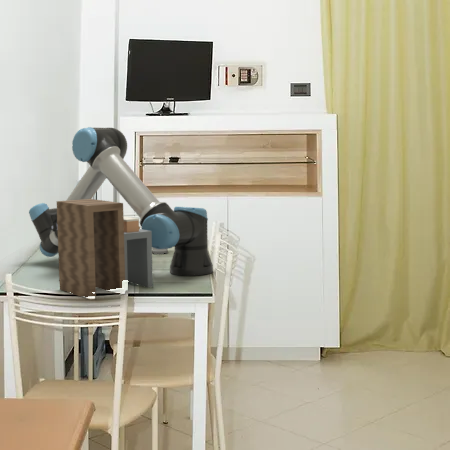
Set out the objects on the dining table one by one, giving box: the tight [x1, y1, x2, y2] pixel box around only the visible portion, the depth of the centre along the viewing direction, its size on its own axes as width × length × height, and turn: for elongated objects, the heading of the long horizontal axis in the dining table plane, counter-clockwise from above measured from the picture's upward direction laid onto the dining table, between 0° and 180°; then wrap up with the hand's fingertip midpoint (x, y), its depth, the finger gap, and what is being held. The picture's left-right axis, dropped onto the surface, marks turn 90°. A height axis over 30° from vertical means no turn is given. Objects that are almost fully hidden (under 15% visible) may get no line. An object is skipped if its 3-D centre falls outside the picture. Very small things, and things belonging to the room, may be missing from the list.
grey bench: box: [124, 228, 154, 288], centre depth 245 cm, size 18×11×18 cm, turn 39°
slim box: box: [123, 215, 140, 233], centre depth 248 cm, size 26×5×4 cm, turn 39°
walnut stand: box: [56, 198, 125, 297], centre depth 234 cm, size 20×12×28 cm, turn 39°
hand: (87, 207), depth 260 cm, fingers open, 13 cm apart
